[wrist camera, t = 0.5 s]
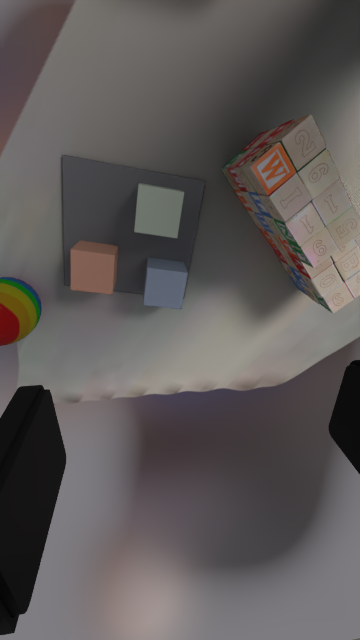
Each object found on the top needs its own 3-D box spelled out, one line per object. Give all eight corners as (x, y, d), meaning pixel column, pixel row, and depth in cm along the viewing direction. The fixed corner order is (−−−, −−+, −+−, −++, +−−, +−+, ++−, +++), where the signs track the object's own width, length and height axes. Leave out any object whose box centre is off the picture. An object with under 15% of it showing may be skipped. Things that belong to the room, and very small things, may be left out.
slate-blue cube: (147, 257, 39) (147, 267, 35) (183, 262, 40) (187, 273, 36) (143, 291, 41) (143, 305, 37) (177, 295, 42) (181, 309, 38)
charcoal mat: (63, 155, 33) (62, 154, 33) (204, 181, 36) (205, 181, 36) (65, 284, 40) (64, 285, 40) (183, 297, 43) (183, 298, 43)
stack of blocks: (333, 263, 43) (396, 293, 32) (297, 289, 44) (346, 326, 34) (260, 131, 34) (313, 111, 23) (218, 168, 36) (250, 166, 25)
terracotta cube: (79, 240, 37) (70, 249, 33) (118, 245, 38) (114, 255, 34) (79, 276, 40) (70, 289, 35) (116, 281, 40) (112, 294, 36)
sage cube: (139, 182, 35) (138, 184, 31) (179, 190, 36) (184, 192, 31) (135, 224, 37) (134, 231, 33) (173, 230, 38) (177, 238, 34)
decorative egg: (-24, 304, 40) (-73, 341, 31) (1, 258, 38) (-44, 284, 29) (31, 333, 43) (1, 374, 34) (58, 292, 41) (33, 325, 32)
